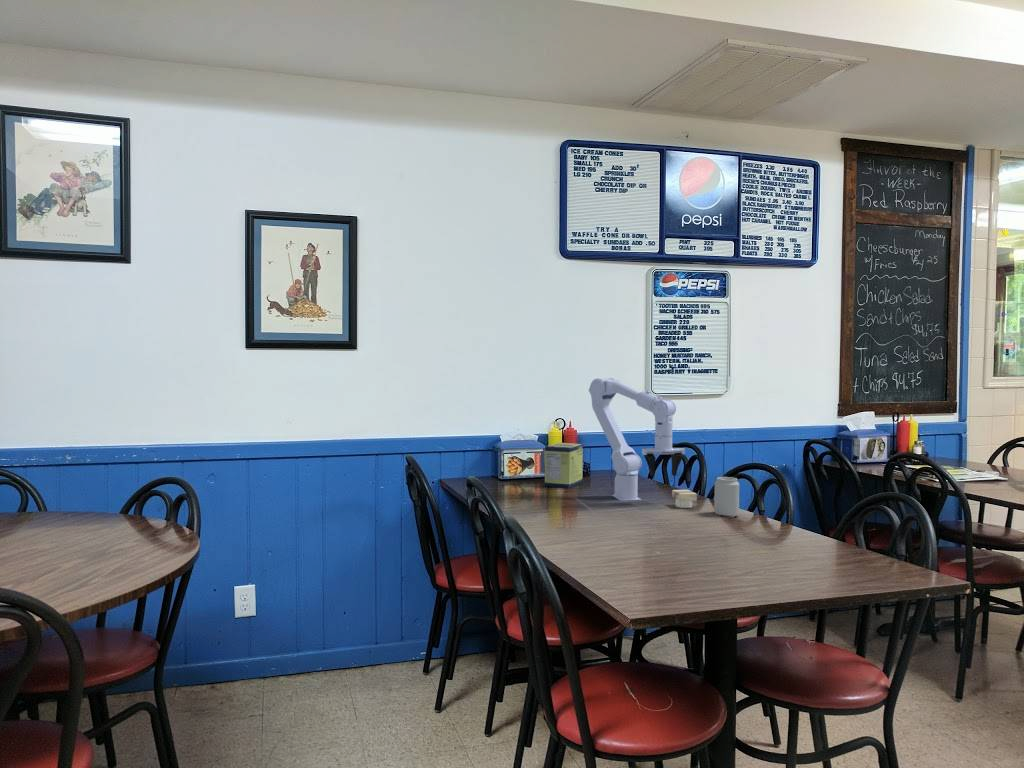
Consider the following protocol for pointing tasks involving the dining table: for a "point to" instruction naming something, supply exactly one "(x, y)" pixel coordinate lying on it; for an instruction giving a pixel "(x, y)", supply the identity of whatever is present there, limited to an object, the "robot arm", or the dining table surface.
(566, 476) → the protein box
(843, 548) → the dining table surface
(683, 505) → the bowl
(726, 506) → the can
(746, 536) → the dining table surface
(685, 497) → the block
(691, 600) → the dining table surface
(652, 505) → the mat
